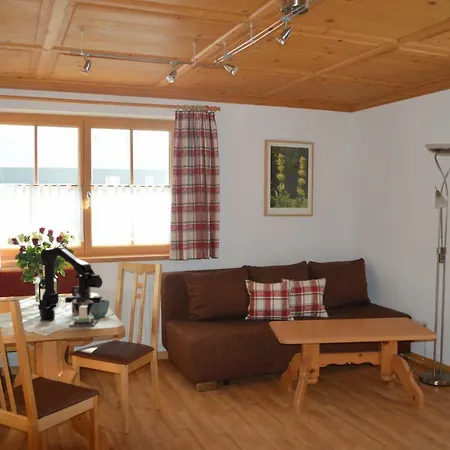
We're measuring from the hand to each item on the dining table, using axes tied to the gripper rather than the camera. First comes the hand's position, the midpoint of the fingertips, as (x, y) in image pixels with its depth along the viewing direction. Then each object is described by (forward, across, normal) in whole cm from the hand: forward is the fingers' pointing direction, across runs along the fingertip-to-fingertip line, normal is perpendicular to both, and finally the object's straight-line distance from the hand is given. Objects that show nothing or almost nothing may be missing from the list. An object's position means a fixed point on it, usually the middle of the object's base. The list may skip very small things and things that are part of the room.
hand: (83, 315), depth 299 cm
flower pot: (+5, +4, +19) cm, 20 cm away
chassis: (+5, 0, 0) cm, 5 cm away
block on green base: (+2, 0, 0) cm, 2 cm away
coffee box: (+5, -8, +27) cm, 29 cm away
